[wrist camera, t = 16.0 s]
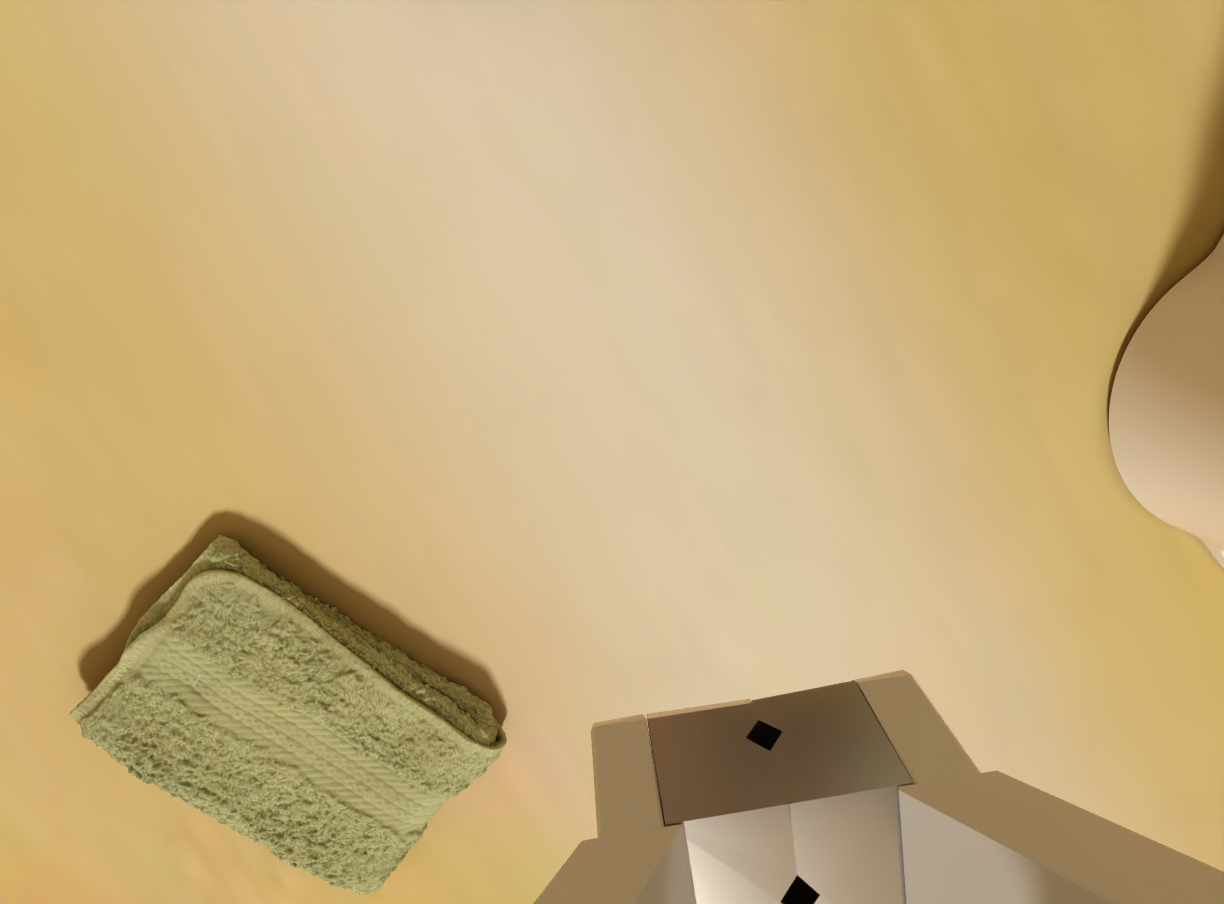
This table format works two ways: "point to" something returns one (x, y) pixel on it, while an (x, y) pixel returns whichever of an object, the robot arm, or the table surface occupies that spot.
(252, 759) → the washcloth
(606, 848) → the robot arm
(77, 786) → the table surface
